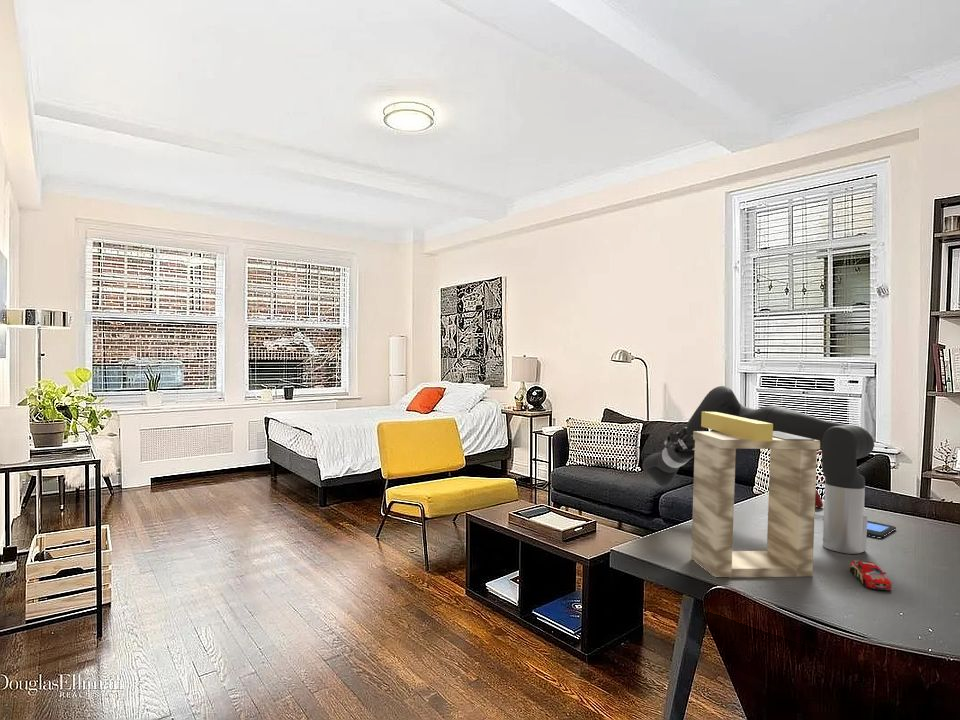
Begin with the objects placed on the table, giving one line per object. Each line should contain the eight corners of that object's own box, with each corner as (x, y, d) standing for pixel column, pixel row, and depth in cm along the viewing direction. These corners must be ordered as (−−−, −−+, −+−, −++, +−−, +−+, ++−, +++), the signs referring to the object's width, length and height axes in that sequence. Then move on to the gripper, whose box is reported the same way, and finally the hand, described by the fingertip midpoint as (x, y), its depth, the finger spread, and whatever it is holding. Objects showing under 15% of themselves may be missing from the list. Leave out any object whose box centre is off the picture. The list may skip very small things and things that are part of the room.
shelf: (778, 557, 153) (783, 431, 153) (815, 577, 139) (820, 439, 139) (689, 558, 151) (693, 430, 150) (717, 579, 137) (721, 438, 136)
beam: (715, 426, 161) (715, 411, 161) (772, 441, 135) (773, 423, 135) (701, 426, 161) (701, 411, 161) (755, 441, 135) (756, 423, 135)
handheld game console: (880, 540, 171) (882, 508, 170) (829, 529, 181) (830, 498, 181) (897, 530, 181) (898, 500, 181) (847, 520, 191) (848, 491, 191)
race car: (894, 595, 131) (895, 576, 131) (866, 591, 133) (867, 573, 133) (872, 573, 144) (873, 557, 144) (847, 570, 145) (847, 554, 145)
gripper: (653, 439, 180) (674, 417, 166) (698, 440, 181) (723, 418, 167) (658, 463, 176) (679, 443, 162) (704, 463, 177) (729, 443, 163)
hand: (701, 430), depth 165 cm, fingers open, 8 cm apart
